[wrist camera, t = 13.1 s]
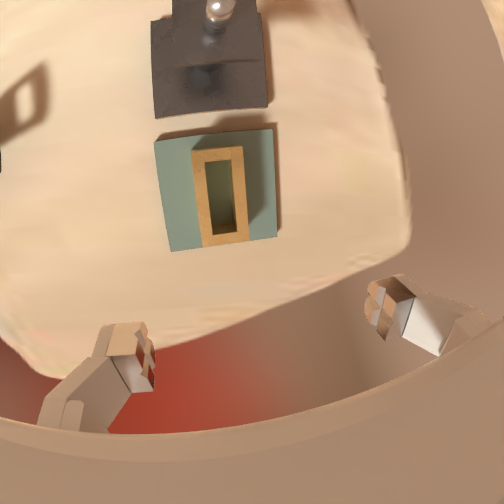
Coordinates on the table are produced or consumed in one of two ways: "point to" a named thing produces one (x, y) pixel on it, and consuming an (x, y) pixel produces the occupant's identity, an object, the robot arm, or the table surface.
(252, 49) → the pin stand
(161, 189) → the rubber mat
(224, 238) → the wooden rectangular frame
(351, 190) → the table surface
